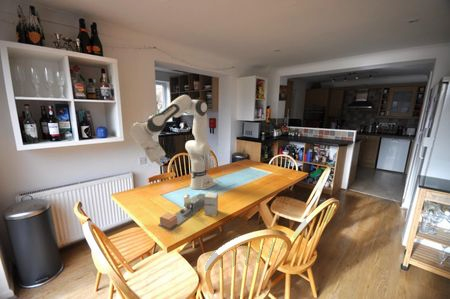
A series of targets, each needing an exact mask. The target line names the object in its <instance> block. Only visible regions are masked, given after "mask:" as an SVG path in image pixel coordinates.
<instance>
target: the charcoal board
mask: <svg viewBox="0 0 450 299" xmlns="http://www.w3.org/2000/svg"><path fill="white" fill-rule="evenodd" d="M202 209H205V203H204V204H203V205H201V206H200V207H198V208H197V209H196V210H194V211H192V210H188V211H186V212H185V213H183V214H181V213H180V210H178V212H176V213H173V214H174V215H176V216H177V222H178V223H177V224H175V225H174V226H173V227H171V228H167V227H165V226H162V225H161V224H160V223H159V224H158V226H159V227H161V228H163V229H166V230H168V231H171V232H172V231H173V230H175V229H176V228H177V227H179V226H180V225H181V224H183V223H185V222H186V221H187V220H188V219H190V218H191V217H192V216H194V215H196V214H197V213H198V212H200V211H201V210H202Z"/></svg>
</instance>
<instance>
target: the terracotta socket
mask: <svg viewBox="0 0 450 299" xmlns="http://www.w3.org/2000/svg"><path fill="white" fill-rule="evenodd" d="M174 214H175V213H171V212H166V213H165V214H163V215H161V216H160V217H159V224H161V225H162V226H165V227H167V228H171V227H173V226H174V225H175V224H177V223H178V222H177V216H176V215H174Z"/></svg>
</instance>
